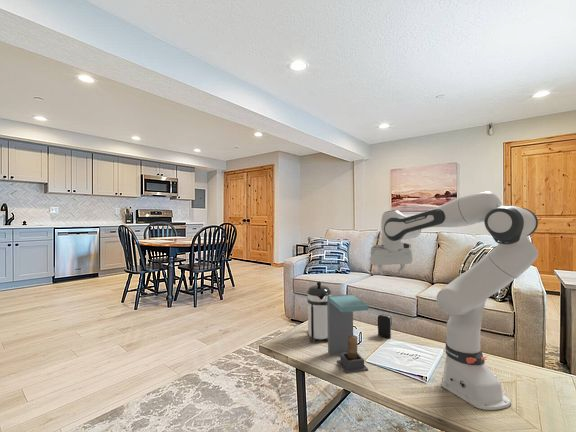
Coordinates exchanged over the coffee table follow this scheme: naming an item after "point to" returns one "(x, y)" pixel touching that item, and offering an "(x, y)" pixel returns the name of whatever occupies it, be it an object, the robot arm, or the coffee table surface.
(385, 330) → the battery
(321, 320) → the coffee press
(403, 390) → the coffee table surface
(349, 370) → the socket
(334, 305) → the teal capped pillar
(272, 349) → the coffee table surface
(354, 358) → the peg
